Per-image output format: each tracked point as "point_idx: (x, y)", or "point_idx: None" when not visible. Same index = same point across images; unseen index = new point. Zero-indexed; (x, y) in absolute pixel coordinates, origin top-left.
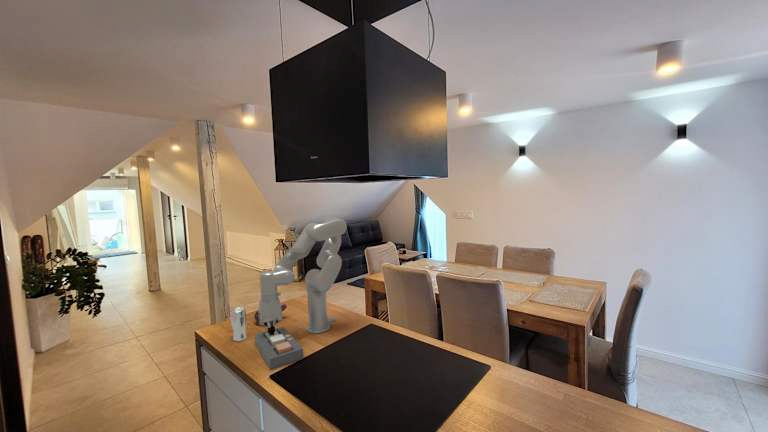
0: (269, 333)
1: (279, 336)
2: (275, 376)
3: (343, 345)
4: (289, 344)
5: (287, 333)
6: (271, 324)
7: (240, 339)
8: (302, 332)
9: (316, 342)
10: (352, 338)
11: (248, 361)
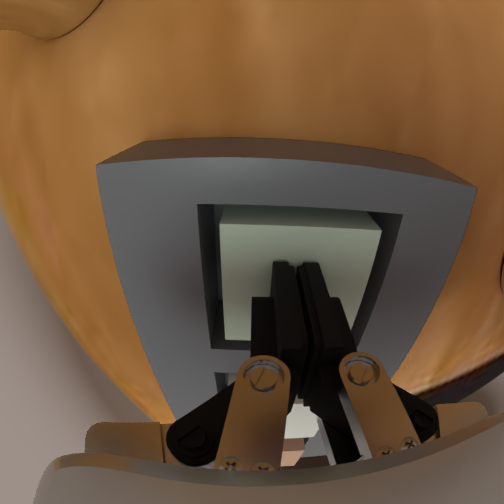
0: (271, 279)
1: (300, 418)
2: None
3: (449, 396)
4: (295, 460)
5: (396, 351)
6: (319, 392)
7: (51, 35)
8: (498, 224)
9: (440, 359)
10: (490, 371)
11: (112, 346)
